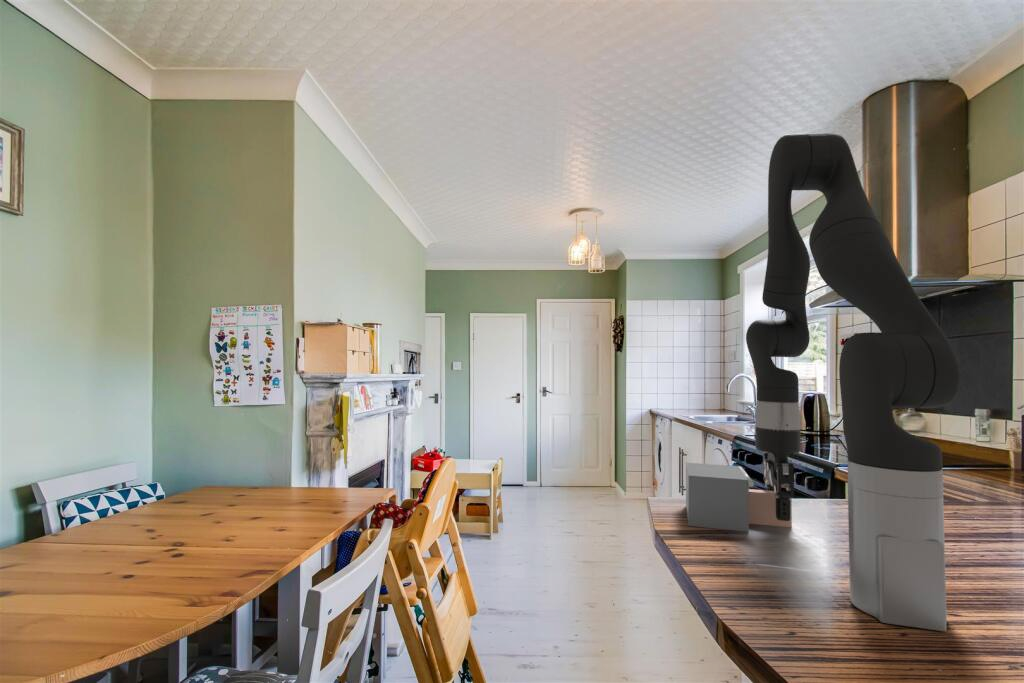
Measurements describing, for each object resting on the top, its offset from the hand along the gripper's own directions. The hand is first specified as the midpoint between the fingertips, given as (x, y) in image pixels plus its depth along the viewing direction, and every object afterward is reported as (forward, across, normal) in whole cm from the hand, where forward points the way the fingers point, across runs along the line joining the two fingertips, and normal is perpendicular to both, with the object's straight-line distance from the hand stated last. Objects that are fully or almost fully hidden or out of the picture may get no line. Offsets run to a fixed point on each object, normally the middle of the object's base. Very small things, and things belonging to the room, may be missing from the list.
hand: (778, 513), depth 94 cm
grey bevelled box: (+2, 0, +11) cm, 11 cm away
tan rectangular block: (+2, 0, +6) cm, 6 cm away
